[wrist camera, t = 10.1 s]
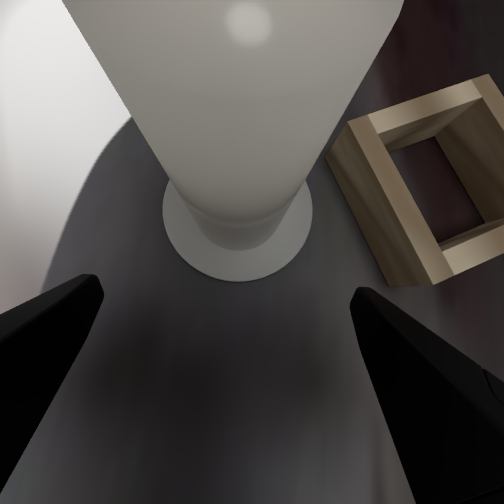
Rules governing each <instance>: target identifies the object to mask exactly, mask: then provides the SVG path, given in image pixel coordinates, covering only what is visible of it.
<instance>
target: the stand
mask: <svg viewBox="0 0 504 504" xmlns="http://www.w3.org/2000/svg"><path fill="white" fill-rule="evenodd" d="M433 136H435V138H436V140H437V141H438V143H439V145H440V147H441V148H442V150H443V152H444V153H445V155H446V157H447V159H448V160H449V162H450V164H451V165H452V167H453V169H454V170H455V172H456V174H457V176H458V177H459V179H460V181H461V182H462V184H463V186H464V188H465V189H466V191H467V193H468V194H469V196H470V198H471V199H472V201H473V203H474V205H475V206H476V208H477V210H478V211H479V213H480V215H481V216H482V218H483V220H484V222H485V224H482V225H480V226H478V227H475V228H473V229H471V230H468V231H466V232H464V233H461V234H459V235H457V236H454V237H452V238H450V239H447V240H445V241H443V242H440V243H438V244H437V242H436V240H435V238H434V236H433V234H432V233H431V231H430V229H429V227H428V225H427V223H426V222H425V220H424V218H423V216H422V214H421V212H420V211H419V209H418V207H417V205H416V203H415V201H414V200H413V198H412V196H411V194H410V192H409V190H408V189H407V187H406V185H405V183H404V181H403V179H402V177H401V176H400V174H399V172H398V170H397V168H396V166H395V165H394V163H393V161H392V159H391V157H390V155H389V154H388V153H389V152H392V151H394V150H397V149H400V148H403V147H405V146H408V145H411V144H414V143H416V142H419V141H422V140H425V139H427V138H430V137H433ZM325 158H326V160H327V162H328V164H329V166H330V168H331V170H332V172H333V174H334V176H335V178H336V180H337V182H338V184H339V186H340V188H341V190H342V192H343V194H344V196H345V198H346V200H347V202H348V204H349V206H350V208H351V210H352V212H353V214H354V216H355V219H356V221H357V223H358V225H359V227H360V229H361V231H362V233H363V235H364V237H365V239H366V241H367V243H368V245H369V247H370V249H371V251H372V253H373V255H374V257H375V259H376V261H377V263H378V265H379V267H380V269H381V271H382V273H383V275H384V277H385V279H386V281H387V283H388V285H389V287H399V286H420V285H434V284H436V283H439V282H441V281H443V280H445V279H447V278H450V277H452V276H454V275H456V274H458V273H461V272H463V271H465V270H467V269H469V268H472V267H474V266H476V265H478V264H480V263H483V262H485V261H487V260H489V259H491V258H494V257H496V256H498V255H500V254H502V253H504V97H503V96H502V94H501V93H500V91H499V90H498V88H497V86H496V85H495V83H494V82H493V80H492V79H491V77H490V76H489V74H486V75H483V76H480V77H477V78H474V79H471V80H468V81H466V82H463V83H460V84H457V85H454V86H451V87H448V88H445V89H442V90H439V91H436V92H433V93H430V94H427V95H424V96H421V97H418V98H415V99H412V100H409V101H407V102H404V103H401V104H398V105H395V106H392V107H389V108H386V109H383V110H380V111H377V112H374V113H371V114H368V115H365V116H362V117H359V118H356V119H353V120H350V121H348V122H347V123H346V125H345V126H344V128H343V129H342V131H341V133H340V134H339V136H338V137H337V139H336V141H335V142H334V144H333V145H332V147H331V149H330V150H329V152H328V153H327V155H326V157H325Z"/></svg>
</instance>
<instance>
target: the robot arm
mask: <svg viewBox="0 0 504 504" xmlns="http://www.w3.org/2000/svg"><path fill="white" fill-rule="evenodd" d="M103 299H104V291H103V289H102V286H101V284H100V281H99V279H98V277H97V276H96V275H93V274H82V275H79V276H77V277H75V278H73V279H71V280H69V281H67V282H65V283H63V284H61V285H59V286H57V287H55V288H53V289H51V290H49V291H47V292H45V293H43V294H41V295H39V296H37V297H35V298H33V299H31V300H29V301H27V302H25V303H23V304H21V305H19V306H16V307H15V308H12V309H10V310H9V311H6V312H4V313H2V314H0V493H1V492H2V490H3V488H4V486H5V484H6V483H7V481H8V479H9V477H10V475H11V474H12V472H13V470H14V468H15V466H16V465H17V463H18V461H19V459H20V457H21V456H22V454H23V452H24V450H25V448H26V447H27V445H28V443H29V441H30V439H31V438H32V436H33V434H34V432H35V431H36V429H37V427H38V425H39V423H40V422H41V420H42V418H43V416H44V414H45V413H46V411H47V409H48V407H49V405H50V404H51V402H52V400H53V398H54V396H55V395H56V393H57V391H58V389H59V387H60V386H61V384H62V382H63V380H64V378H65V377H66V375H67V373H68V371H69V370H70V368H71V366H72V364H73V362H74V361H75V359H76V357H77V355H78V353H79V352H80V350H81V348H82V346H83V344H84V342H85V340H86V338H87V336H88V334H89V332H90V329H91V327H92V325H93V322H94V320H95V318H96V315H97V313H98V311H99V308H100V306H101V304H102V301H103ZM350 312H351V316H352V320H353V324H354V328H355V332H356V336H357V340H358V344H359V347H360V351H361V354H362V357H363V359H364V362H365V365H366V368H367V370H368V373H369V376H370V379H371V381H372V384H373V387H374V390H375V392H376V395H377V398H378V401H379V403H380V406H381V409H382V412H383V414H384V417H385V420H386V423H387V425H388V428H389V431H390V434H391V436H392V439H393V442H394V445H395V447H396V450H397V453H398V456H399V458H400V461H401V464H402V467H403V469H404V472H405V475H406V478H407V480H408V483H409V486H410V489H411V491H412V494H413V497H414V500H415V502H416V504H504V382H502V381H501V380H499V379H498V378H497V377H495V376H494V375H493V374H491V373H490V372H488V371H487V370H486V369H482V367H481V366H480V365H478V364H477V363H476V362H474V361H473V360H471V359H470V358H469V357H467V356H466V355H464V354H463V353H462V352H460V351H459V350H457V349H456V348H455V347H453V346H452V345H450V344H449V343H448V342H446V341H445V340H443V339H442V338H440V337H439V336H438V335H436V334H435V333H433V332H432V331H431V330H429V329H428V328H426V327H425V326H424V325H422V324H421V323H419V322H418V321H417V320H415V319H414V318H412V317H411V316H410V315H408V314H407V313H405V312H404V311H403V310H401V309H400V308H398V307H397V306H396V305H394V304H393V303H391V302H390V301H389V300H387V299H386V298H384V297H383V296H382V295H380V294H379V293H377V292H376V291H375V290H373V289H372V288H370V287H358V288H357V289H356V291H355V293H354V295H353V297H352V300H351V302H350Z"/></svg>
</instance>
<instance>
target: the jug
mask: <svg viewBox="0 0 504 504" xmlns="http://www.w3.org/2000/svg"><path fill="white" fill-rule="evenodd" d="M62 1H63V3H64V4H65V7H66V8H67V10H68V12H69V13H70V14H71V17H72V18H73V20H74V22H75V23H76V25H77V26H78V28H79V30H80V32H81V33H82V35H83V37H84V38H85V40H86V42H87V43H88V45H89V46H90V48H91V50H92V51H93V53H94V55H95V56H96V58H97V60H98V61H99V63H100V65H101V66H102V68H103V70H104V71H105V73H106V74H107V76H108V78H109V79H110V81H111V83H112V84H113V86H114V87H115V89H116V91H117V93H118V94H119V96H120V97H121V99H122V101H123V102H124V104H125V106H126V107H127V109H128V111H129V112H130V114H131V116H132V117H133V119H134V121H135V122H136V124H137V126H138V127H139V129H140V131H141V132H142V134H143V136H144V137H145V139H146V140H147V142H148V144H149V145H150V147H151V149H152V150H153V152H154V154H155V155H156V157H157V159H158V160H159V162H160V164H161V165H162V167H163V169H164V170H165V172H166V173H167V175H168V177H169V178H170V180H171V182H172V183H173V185H174V187H175V188H176V190H177V192H178V193H179V195H180V197H181V198H182V200H183V202H184V203H185V205H186V206H187V208H188V210H189V211H190V213H191V215H192V216H193V218H194V220H195V221H196V223H197V225H198V226H199V228H200V230H201V231H202V233H203V234H204V235H205V236H206V237H207V238H208V239H209V240H210V241H211V242H213V243H214V244H216V245H218V246H219V247H222V248H224V249H228V250H234V251H243V250H249V249H253V248H255V247H258V246H260V245H262V244H263V243H265V242H266V241H267V240H269V238H270V237H271V236H272V235H273V234H274V233H275V231H276V230H277V228H278V226H279V224H280V223H281V221H282V219H283V217H284V216H285V214H286V212H287V210H288V209H289V207H290V205H291V203H292V202H293V200H294V198H295V196H296V195H297V193H298V191H299V189H300V188H301V186H302V184H303V183H304V181H305V179H306V177H307V176H308V174H309V172H310V170H311V169H312V167H313V165H314V163H315V162H316V160H317V158H318V156H319V155H320V153H321V151H322V149H323V148H324V146H325V144H326V142H327V141H328V139H329V137H330V135H331V134H332V132H333V130H334V128H335V127H336V125H337V123H338V121H339V120H340V118H341V116H342V114H343V113H344V111H345V109H346V107H347V106H348V104H349V102H350V101H351V99H352V97H353V95H354V94H355V92H356V90H357V88H358V87H359V85H360V83H361V81H362V80H363V78H364V76H365V74H366V73H367V71H368V69H369V67H370V66H371V64H372V62H373V60H374V59H375V57H376V55H377V53H378V52H379V50H380V48H381V46H382V45H383V43H384V41H385V39H386V38H387V36H388V34H389V32H390V31H391V29H392V27H393V25H394V23H395V21H396V20H397V18H398V16H399V13H400V10H401V7H402V4H403V1H404V0H62Z"/></svg>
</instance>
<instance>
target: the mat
mask: <svg viewBox="0 0 504 504" xmlns="http://www.w3.org/2000/svg"><path fill="white" fill-rule="evenodd" d="M163 219H164V225H165V229H166V232H167V235H168V237H169V239H170V241H171V243H172V245H173V246H174V248H175V249H176V251H177V252H178V253H179V254H180V256H181V257H182V258H183V259H184V260H185V261H186V262H188V263H189V264H190V265H191V266H193V267H194V268H196V269H197V270H198V271H200V272H202V273H204V274H206V275H208V276H211V277H214V278H216V279H220V280H225V281H233V282H244V281H252V280H257V279H260V278H263V277H266V276H268V275H270V274H272V273H274V272H276V271H278V270H279V269H281V268H282V267H284V266H285V265H286V264H287V263H289V262H290V261H291V260H292V259H293V258H294V257H295V255H296V254H297V253H298V252H299V251H300V249H301V247H302V246H303V244H304V243H305V240H306V238H307V236H308V233H309V230H310V227H311V221H312V200H311V195H310V191H309V188H308V186H307V183H306V181H304V183H303V184H302V186H301V188H300V189H299V191H298V193H297V195H296V196H295V198H294V200H293V202H292V203H291V205H290V207H289V209H288V210H287V212H286V214H285V216H284V217H283V219H282V221H281V223H280V224H279V226H278V228H277V230H276V231H275V233H274V234H273V235H272V236H271V237H270V238H269V240H267V241H266V242H265V243H263V244H262V245H260V246H258V247H255V248H253V249H249V250H243V251H234V250H228V249H224V248H222V247H219V246H218V245H216V244H214V243H213V242H211V241H210V240H209V239H208V238H207V237H206V236H205V235H204V234H203V233H202V231H201V230H200V228H199V226H198V225H197V223H196V221H195V220H194V218H193V216H192V215H191V213H190V211H189V210H188V208H187V206H186V205H185V203H184V202H183V200H182V198H181V197H180V195H179V193H178V192H177V190H176V188H175V187H174V185H173V183H172V182H171V180H169V182H168V185H167V187H166V191H165V194H164V200H163Z"/></svg>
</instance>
